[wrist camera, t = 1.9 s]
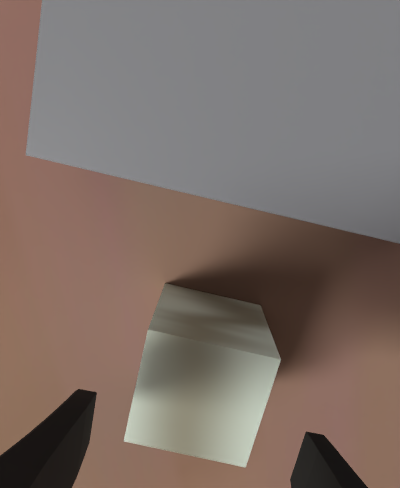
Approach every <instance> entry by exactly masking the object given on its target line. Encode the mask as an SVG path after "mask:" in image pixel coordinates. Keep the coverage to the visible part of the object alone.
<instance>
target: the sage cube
mask: <svg viewBox="0 0 400 488" xmlns="http://www.w3.org/2000/svg"><path fill="white" fill-rule="evenodd" d="M280 361H281V358H280V356H279V353H278V350H277V348H276V345H275V342H274V340H273V337H272V334H271V332H270V329H269V326H268V324H267V321H266V319H265V316H264V313H263V311H262V308H261V305H257V304H253V303H249V302H244V301H240V300H236V299H231V298H227V297H223V296H218V295H214V294H210V293H205V292H201V291H197V290H192V289H188V288H184V287H179V286H175V285H171V284H166V283H165V285H164V288H163V290H162V293H161V296H160V299H159V301H158V304H157V307H156V309H155V312H154V315H153V318H152V320H151V323H150V326H149V329H148V332H147V337H146V342H145V346H144V351H143V355H142V360H141V364H140V369H139V373H138V378H137V383H136V387H135V392H134V396H133V401H132V405H131V410H130V414H129V419H128V424H127V428H126V433H125V437H124V441H125V442H130V443H134V444H139V445H144V446H148V447H153V448H158V449H162V450H167V451H171V452H176V453H181V454H185V455H190V456H195V457H199V458H204V459H208V460H213V461H218V462H222V463H227V464H232V465H236V466H241V467H246V464H247V461H248V458H249V455H250V452H251V449H252V446H253V443H254V440H255V437H256V434H257V431H258V428H259V425H260V422H261V419H262V416H263V413H264V410H265V407H266V404H267V401H268V398H269V395H270V391H271V388H272V385H273V382H274V379H275V376H276V373H277V370H278V367H279V364H280Z"/></svg>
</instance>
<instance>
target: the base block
mask: <svg viewBox="0 0 400 488" xmlns="http://www.w3.org/2000/svg"><path fill="white" fill-rule="evenodd" d="M26 155H28V156H32V157H36V158H40V159H44V160H49V161H53V162H57V163H61V164H66V165H70V166H74V167H78V168H82V169H87V170H91V171H95V172H99V173H104V174H108V175H112V176H116V177H120V178H125V179H129V180H133V181H137V182H142V183H146V184H150V185H154V186H158V187H163V188H167V189H171V190H175V191H180V192H184V193H188V194H192V195H197V196H201V197H205V198H209V199H213V200H218V201H222V202H226V203H230V204H235V205H239V206H243V207H247V208H251V209H256V210H260V211H264V212H268V213H273V214H277V215H281V216H285V217H289V218H294V219H298V220H302V221H306V222H311V223H315V224H319V225H323V226H327V227H332V228H336V229H340V230H344V231H349V232H353V233H357V234H361V235H365V236H370V237H374V238H378V239H382V240H387V241H391V242H395V243H399V244H400V0H42V7H41V17H40V26H39V36H38V45H37V54H36V64H35V73H34V83H33V92H32V102H31V111H30V120H29V130H28V139H27V149H26Z"/></svg>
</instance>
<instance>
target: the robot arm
mask: <svg viewBox="0 0 400 488" xmlns="http://www.w3.org/2000/svg"><path fill="white" fill-rule="evenodd" d="M96 394H97V392H92V391H86V390H81V389H78V390H76V391H75V392H74V393H73V394H72V395H71V396H70V397H69V398H68V399H67V400H66V401H65V402H64V403H63V404H61V405H60V406H59V407H58V408H57V409H56V410H55V411H54V412H53V413H52V414H51V415H49V416H48V417H47V418H46V419H45V420H44V421H43V422H41V423H40V424H39V425H38V426H37V427H36V428H34V429H33V430H32V431H31V432H30V433H29V434H27V435H26V436H25V437H24V438H22V439H21V440H20V441H19V442H17V443H16V444H15V445H13V446H12V447H11V448H10V449H8V450H7V451H6V452H4V453H3V454H2V455H0V488H72V486H73V484H74V482H75V479H76V477H77V475H78V472H79V469H80V467H81V464H82V461H83V459H84V456H85V453H86V450H87V447H88V445H89V441H90V434H91V427H92V421H93V414H94V408H95V401H96ZM290 481H291V488H368V487H367V486H366V485H365V484H364V483H363V481H362V480H361V479H360V478H359V477H358V475H357V474H356V473H355V472H354V471H353V469H352V468H351V467H350V466H349V465H348V463H347V462H346V461H345V460H344V459H343V457H342V456H341V455H340V454H339V452H338V451H337V450H336V449H335V448H334V446H333V445H332V444H331V443H330V442H329V441H328V439H327V438H326V437H325V436H324V435H321V434H316V433H311V432H306V433H305V436H304V439H303V442H302V445H301V448H300V452H299V455H298V458H297V461H296V464H295V467H294V470H293V473H292V476H291V479H290Z"/></svg>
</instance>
